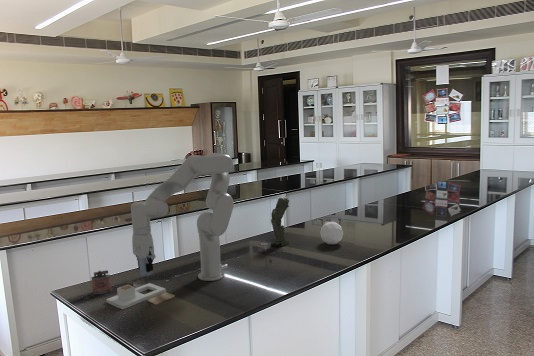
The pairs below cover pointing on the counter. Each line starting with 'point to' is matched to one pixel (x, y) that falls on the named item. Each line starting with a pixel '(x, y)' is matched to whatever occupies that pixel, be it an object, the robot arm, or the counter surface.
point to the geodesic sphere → (331, 232)
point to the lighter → (101, 282)
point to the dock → (134, 295)
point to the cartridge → (143, 267)
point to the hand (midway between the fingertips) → (145, 269)
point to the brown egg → (125, 287)
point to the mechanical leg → (279, 222)
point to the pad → (160, 298)
